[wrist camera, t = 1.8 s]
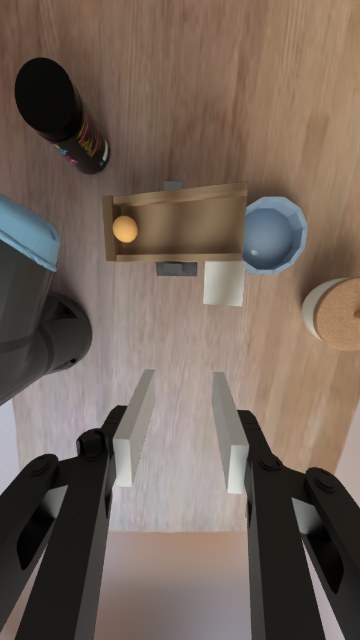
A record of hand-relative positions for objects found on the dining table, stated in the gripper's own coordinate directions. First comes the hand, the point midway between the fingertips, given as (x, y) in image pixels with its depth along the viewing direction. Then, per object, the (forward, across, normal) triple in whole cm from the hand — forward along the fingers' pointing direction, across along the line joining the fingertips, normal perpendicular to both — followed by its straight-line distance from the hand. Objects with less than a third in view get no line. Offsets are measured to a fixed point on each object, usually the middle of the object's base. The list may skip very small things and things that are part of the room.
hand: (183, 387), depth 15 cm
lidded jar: (+23, +24, +3) cm, 33 cm away
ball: (+14, -8, +14) cm, 22 cm away
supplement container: (+23, -16, +27) cm, 39 cm away
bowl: (+23, +12, +14) cm, 29 cm away
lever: (+15, -2, +11) cm, 19 cm away
